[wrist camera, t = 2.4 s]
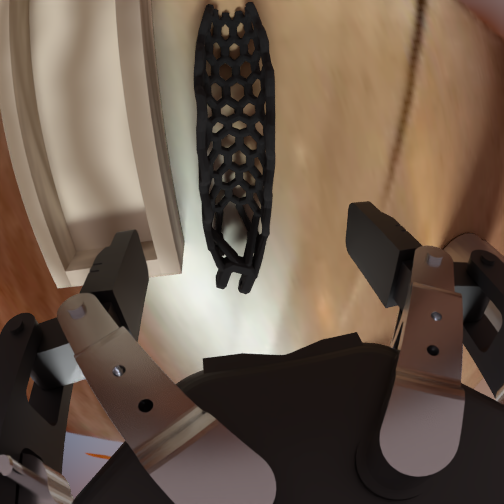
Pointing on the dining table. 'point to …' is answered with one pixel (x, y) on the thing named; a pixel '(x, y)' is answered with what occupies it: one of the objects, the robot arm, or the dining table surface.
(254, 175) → the decorative element
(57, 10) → the rectangular tray
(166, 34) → the dining table surface
